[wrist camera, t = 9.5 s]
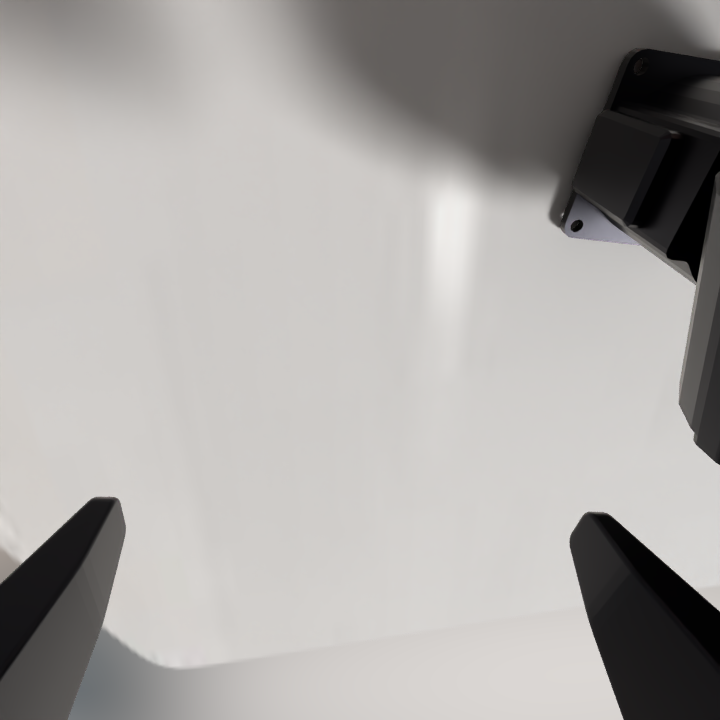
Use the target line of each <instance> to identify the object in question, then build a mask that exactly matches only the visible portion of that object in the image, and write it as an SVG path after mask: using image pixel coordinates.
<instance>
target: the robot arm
mask: <svg viewBox="0 0 720 720" xmlns="http://www.w3.org/2000/svg"><path fill="white" fill-rule="evenodd" d="M640 58H642V61H643V64H642V67H641V69H640V71H638V72H637V73H636V74H635V73H634V65H635V63H636V62H637V61H638V60H639V59H640ZM572 186H573V188H574V189H573V191H572V194H571V197H570V199H569V202H568V205H567V207H566V210H565V212H564V215H563V218H562V220H561V225H560V226H561V230H562V231H563V232H564V233H565V234H566V235H567V236H568V237H571V238H579V239H588V240H597V241H606V242H615V243H624V244H633V245H641V246H643V247H644V248H646V249H647V250H648V251H650V252H651V253H652V254H654V255H655V256H656V257H658V258H659V259H661V260H662V261H663V262H665V263H666V264H667V265H669V266H670V267H672V268H673V269H674V270H676V271H677V272H678V273H680V274H681V275H683V276H684V277H685V278H687V279H688V280H689V281H691V282H692V283H694V284H695V285H696V291H695V297H694V303H693V308H692V314H691V320H690V326H689V332H688V337H687V343H686V349H685V355H684V361H683V366H682V372H681V378H680V389H679V405H680V407H681V409H682V411H683V413H684V415H685V417H686V419H687V421H688V424H689V426H690V428H691V429H692V430H693V431H694V442H695V444H696V445H697V446H698V447H699V448H700V449H702V450H703V451H704V452H705V453H706V454H707V455H708V456H709V457H710V458H711V459H713V460H714V461H715V462H716V463H718V464H719V465H720V61H717V60H711V59H705V58H699V57H693V56H687V55H681V54H675V53H670V52H664V51H658V50H652V49H645V48H638V49H634V50H633V51H631V52H629V53H628V54H627V55H626V56H625V58H624V60H623V62H622V63H621V66H620V69H619V71H618V74H617V77H616V79H615V82H614V84H613V87H612V90H611V92H610V95H609V97H608V100H607V103H606V105H605V108H604V110H603V112H602V113H601V114H599V115H598V116H597V119H596V121H595V124H594V126H593V129H592V132H591V134H590V137H589V140H588V142H587V145H586V148H585V150H584V153H583V155H582V158H581V161H580V163H579V166H578V169H577V171H576V174H575V177H574V179H573V182H572ZM575 220H579V223H578V225H577V226H576V227H574V228H571V224H572V223H573V222H574V221H575ZM125 532H126V525H125V520H124V516H123V512H122V508H121V504H120V501H119V499H117V498H115V497H95V498H92V499H91V500H89V501H88V502H87V503H86V504H85V505H84V506H83V507H82V508H81V509H80V510H79V511H78V512H77V513H75V514H74V515H73V516H72V517H71V518H70V519H69V520H68V521H67V522H66V523H65V524H64V525H63V526H62V527H61V528H59V529H58V530H57V531H56V532H55V533H54V534H53V535H52V536H51V537H50V538H49V539H48V540H47V541H46V542H45V543H43V544H42V545H41V546H40V547H39V548H38V549H37V550H36V551H35V552H34V553H33V554H32V555H31V556H30V557H29V558H28V559H26V560H25V561H24V562H23V563H22V564H21V565H20V566H19V567H18V568H17V569H16V570H15V571H14V572H13V573H12V574H10V575H9V577H7V578H6V579H5V580H4V581H3V582H2V583H1V584H0V720H67V719H68V717H69V714H70V711H71V709H72V706H73V703H74V701H75V698H76V695H77V692H78V690H79V687H80V684H81V682H82V679H83V676H84V673H85V671H86V668H87V665H88V663H89V660H90V657H91V655H92V652H93V649H94V647H95V644H96V641H97V639H98V636H99V633H100V630H101V627H102V624H103V621H104V617H105V613H106V610H107V606H108V602H109V598H110V594H111V590H112V586H113V582H114V578H115V574H116V570H117V566H118V562H119V558H120V554H121V550H122V546H123V542H124V538H125ZM570 549H571V553H572V557H573V561H574V565H575V569H576V573H577V577H578V581H579V585H580V589H581V593H582V597H583V601H584V605H585V609H586V612H587V616H588V619H589V623H590V626H591V629H592V632H593V635H594V638H595V640H596V643H597V646H598V649H599V652H600V654H601V657H602V660H603V663H604V666H605V669H606V671H607V674H608V677H609V680H610V683H611V685H612V688H613V691H614V694H615V696H616V699H617V702H618V705H619V708H620V711H621V714H622V716H623V719H624V720H720V611H719V610H717V609H716V608H715V607H714V606H713V605H712V604H711V603H709V602H708V601H707V600H706V599H705V598H704V597H703V596H701V595H700V594H699V593H698V592H697V591H696V590H695V589H694V588H692V587H691V586H690V585H689V584H688V583H687V582H686V581H684V580H683V579H682V578H681V577H680V576H679V575H678V574H677V573H675V572H674V571H673V570H672V569H671V568H670V567H669V566H667V565H666V564H665V563H664V562H663V561H662V560H661V559H660V558H658V557H657V556H656V555H655V554H654V553H653V552H652V551H650V550H649V549H648V548H647V547H646V546H645V545H644V544H642V543H641V542H640V541H639V540H638V539H637V538H636V537H635V536H633V535H632V534H631V533H630V532H629V531H628V530H627V529H625V528H624V527H623V526H622V525H621V524H620V523H619V522H617V521H616V520H615V519H614V518H613V517H612V516H610V515H609V514H607V513H604V512H587V513H585V514H584V515H583V516H582V518H581V519H580V521H579V523H578V524H577V526H576V527H575V529H574V530H573V532H572V534H571V536H570Z"/></svg>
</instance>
